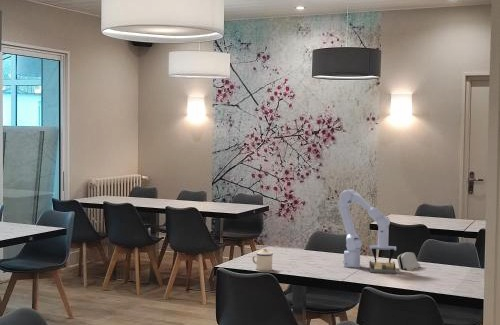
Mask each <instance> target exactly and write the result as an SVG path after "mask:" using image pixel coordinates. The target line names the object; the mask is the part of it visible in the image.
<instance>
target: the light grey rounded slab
mask: <svg viewBox="0 0 500 325" xmlns="http://www.w3.org/2000/svg"><path fill="white" fill-rule="evenodd" d="M396 258H397V263H398V268H399V270H405V269H406V271H407V270H408V271H411V269H412V270H415V269H414V268H416V269H418V267H419V268H421V264H420V263H419V262H418V259H417V256H416V254H415V252H412V251H411V252H410V251H409V252H408V251H407V252H404V253H401V254H399V255H398V256H397V257H396Z"/></svg>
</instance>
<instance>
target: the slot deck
mask: <svg viewBox="0 0 500 325" xmlns="http://www.w3.org/2000/svg"><path fill="white" fill-rule="evenodd" d="M368 263H369V264H368V267H369V269H370V266H374V263H375V261H373V262H372V260H369V262H368ZM376 263H379V264H382V266H384V267H386V262H377V261H376ZM392 263H394V267H395V268H396V263H395V261H392Z"/></svg>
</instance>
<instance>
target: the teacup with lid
mask: <svg viewBox="0 0 500 325" xmlns="http://www.w3.org/2000/svg"><path fill="white" fill-rule="evenodd" d="M255 257H256V260H255ZM251 260H252V262H253V264H255V265H256V270H257V271H265V272H268V271H271V270H273V252H272V251H269V250H267V248H266V247H263V248H262V249H261V250H260V251H257V252H256V255H255V254H254V255H252V259H251Z"/></svg>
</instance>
